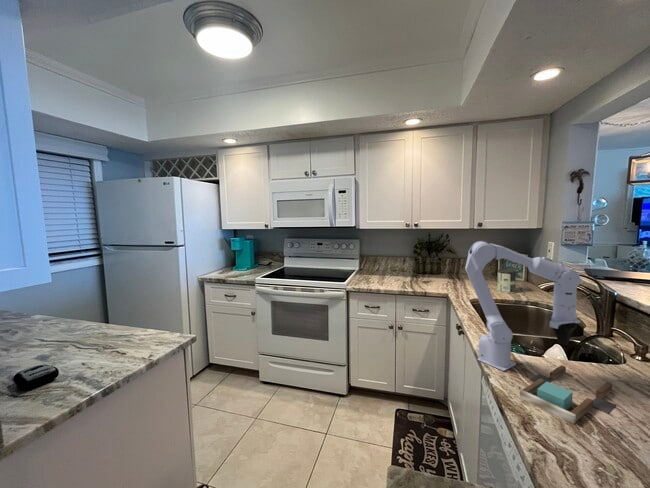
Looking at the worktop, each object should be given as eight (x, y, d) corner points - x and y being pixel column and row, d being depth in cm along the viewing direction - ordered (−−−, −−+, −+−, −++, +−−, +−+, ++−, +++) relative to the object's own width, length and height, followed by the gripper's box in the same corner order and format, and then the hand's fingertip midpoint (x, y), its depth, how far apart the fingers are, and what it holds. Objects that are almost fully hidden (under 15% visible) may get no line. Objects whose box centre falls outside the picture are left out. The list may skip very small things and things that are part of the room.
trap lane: (509, 392, 84) (509, 385, 84) (550, 366, 97) (550, 361, 96) (589, 431, 68) (589, 424, 68) (626, 395, 81) (626, 388, 80)
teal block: (536, 401, 80) (537, 388, 79) (546, 394, 83) (546, 381, 83) (563, 414, 75) (563, 399, 74) (572, 405, 78) (572, 391, 77)
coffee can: (511, 289, 192) (511, 269, 191) (518, 293, 182) (518, 272, 181) (494, 289, 194) (495, 269, 193) (500, 293, 184) (501, 272, 183)
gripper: (569, 312, 85) (568, 355, 86) (589, 303, 92) (587, 342, 93) (542, 306, 91) (541, 346, 92) (563, 298, 98) (561, 335, 99)
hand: (562, 344), depth 93 cm, fingers closed
